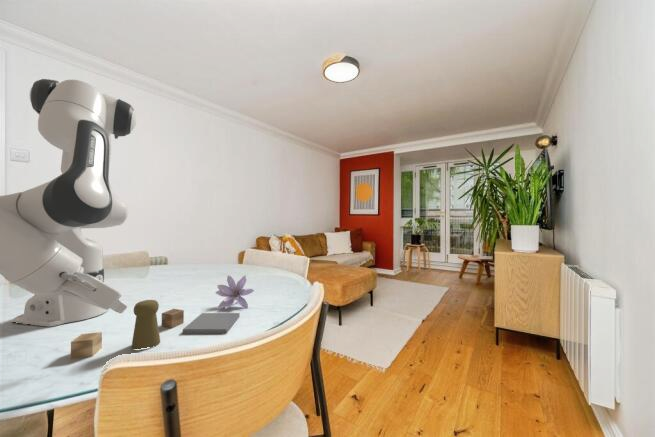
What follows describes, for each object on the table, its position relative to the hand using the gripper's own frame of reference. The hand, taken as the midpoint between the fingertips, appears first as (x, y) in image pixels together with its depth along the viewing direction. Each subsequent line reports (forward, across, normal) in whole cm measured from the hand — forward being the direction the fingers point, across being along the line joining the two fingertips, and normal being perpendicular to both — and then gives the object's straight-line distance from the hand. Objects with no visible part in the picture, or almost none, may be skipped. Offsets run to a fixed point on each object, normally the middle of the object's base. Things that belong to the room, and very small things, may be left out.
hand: (112, 306), depth 59 cm
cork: (+14, 0, +4) cm, 14 cm away
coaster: (+25, -4, -8) cm, 27 cm away
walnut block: (+21, +6, -4) cm, 22 cm away
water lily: (+35, +3, -18) cm, 40 cm away
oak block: (+7, +8, +10) cm, 14 cm away
